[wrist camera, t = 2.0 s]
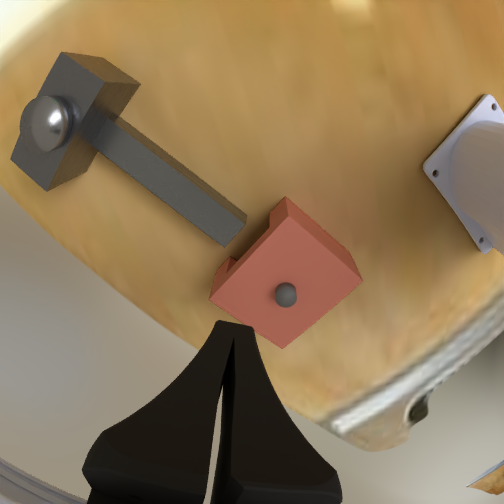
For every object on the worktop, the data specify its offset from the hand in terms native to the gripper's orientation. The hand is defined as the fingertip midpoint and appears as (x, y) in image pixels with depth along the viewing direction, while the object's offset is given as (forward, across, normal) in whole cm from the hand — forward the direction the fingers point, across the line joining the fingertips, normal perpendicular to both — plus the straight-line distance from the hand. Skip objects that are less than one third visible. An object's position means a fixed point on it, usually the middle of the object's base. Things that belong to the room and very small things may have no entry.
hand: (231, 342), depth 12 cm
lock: (+10, -3, +2) cm, 11 cm away
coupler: (+10, +7, -4) cm, 13 cm away
